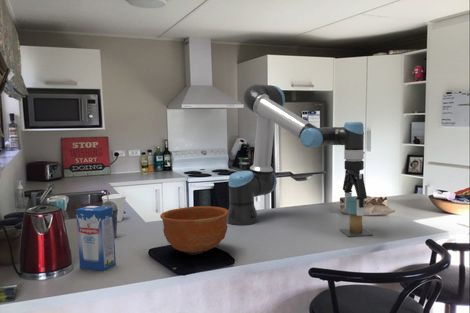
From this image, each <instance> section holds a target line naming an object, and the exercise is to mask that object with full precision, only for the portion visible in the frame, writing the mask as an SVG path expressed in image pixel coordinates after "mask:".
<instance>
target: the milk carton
mask: <svg viewBox="0 0 470 313" xmlns="http://www.w3.org/2000/svg"><path fill="white" fill-rule="evenodd" d="M75 213H76V215H75V216H76V228H77V243H78V245H77V246H78V257H79V268H80V269H84V270H92V271H101V272H105V271H107V270H108V269H110V268H113V267H115V266H116V265H117V263H116V262H117V260H116V247H115V246H116V245H115V238H114V226H113V209H112V207H102V205H101V206H100V205H98V206H97V205H87V206H83V207H81V208H77V209H75Z"/></svg>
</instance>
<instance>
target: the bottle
mask: <svg viewBox="0 0 470 313" xmlns="http://www.w3.org/2000/svg"><path fill="white" fill-rule="evenodd" d="M348 214H349V213H348ZM348 216H349V218H348V221H349V225H348V226H349V228H341V229H339V232H341V233H342V234H344V235H345V236H346V237H347V238H357V237H359V238H360V237H373V236H374V234H373V233H371V231H368V230H367V229H366V228H364V227H363V216H357V214H349V215H348Z"/></svg>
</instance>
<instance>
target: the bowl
mask: <svg viewBox="0 0 470 313" xmlns="http://www.w3.org/2000/svg"><path fill="white" fill-rule="evenodd" d="M228 210H229V209H227V208H225V207H220V206H211V205H210V206H209V205H208V206H205V205H201V206H200V205H199V206H187V207H180V208H175V209H174V208H173V209H169V210H166V211H164V212H162V213H161V214H160V215H159V217H160V219H162V224H163V231H162V232H163V234H164V237H165V239H166V241H167V243H169V244H170V245H171V247H173V249H174V250H177V251H179V252H184V253H185V252H189V253H197V252H202V251H206V252H207V251H209V250H211V249H214V248H215V247H217V246H218V245H219V244H220V243H221V242H222V240H224V239H225V237H226V234H227V232H228V223H227V216H228V214H229V211H228Z"/></svg>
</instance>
